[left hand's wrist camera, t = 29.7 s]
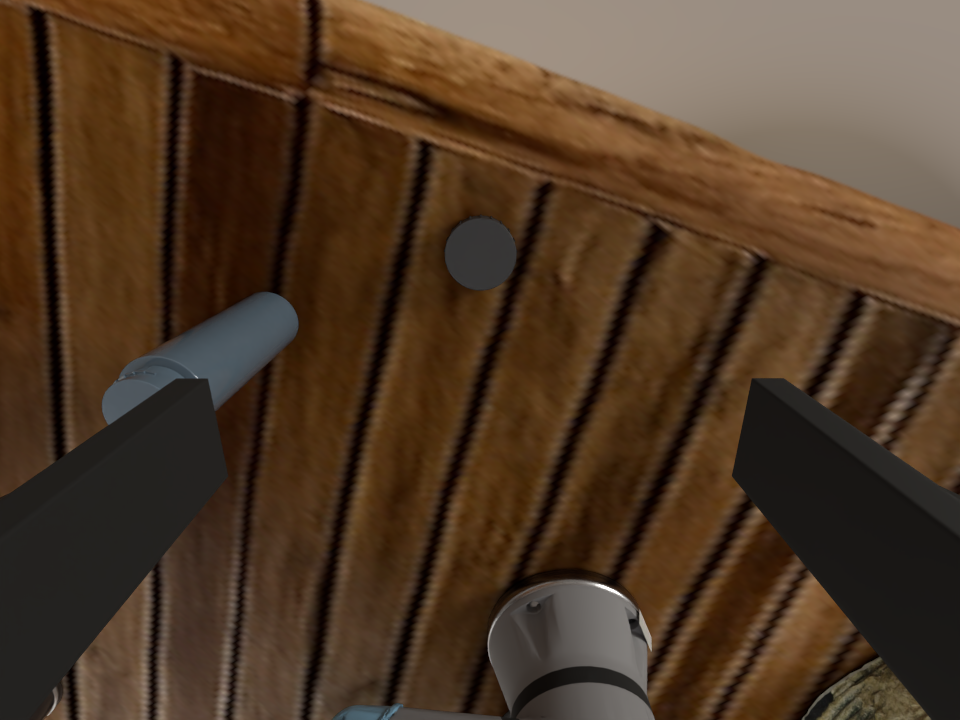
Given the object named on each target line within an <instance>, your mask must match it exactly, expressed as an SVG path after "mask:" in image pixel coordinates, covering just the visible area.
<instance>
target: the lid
mask: <svg viewBox="0 0 960 720" xmlns="http://www.w3.org/2000/svg"><path fill="white" fill-rule="evenodd" d="M446 241H447V243H446V247H445V250H444V252H445V263H446V265H447V268H448V270H449V273H450V274H451V275H452V277H453V278H454V279H455V280H456V281H457V282H458V283H460V284H461V285H463V286H465V287H467V288H469V289H473V290H488V289H492V288H494V287H497V286H498V285H500V284H502V283H503V282H504V281H505V280H506V279H507V278H508V277H509V275H510V274H511V273H512V271H513V268H514V266H515V263H516V253H517V250H516V247H515V243H514V242H515V240H514V238H512V236H511V234H510V230H509V229H507V228H506V227H505V226H504V225H503V224H502V222H501V221H498V220H496V219H494V218H492V216H491V217H488V216H482V215H480V216H473V217H471V216H470V217H469V218H467V219H465V220H463V221H460V223H459V224H458V225H457V226H456V227H455V228H453V229H452V232H451V234H450V236H449V237H448V238H447V240H446Z"/></svg>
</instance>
